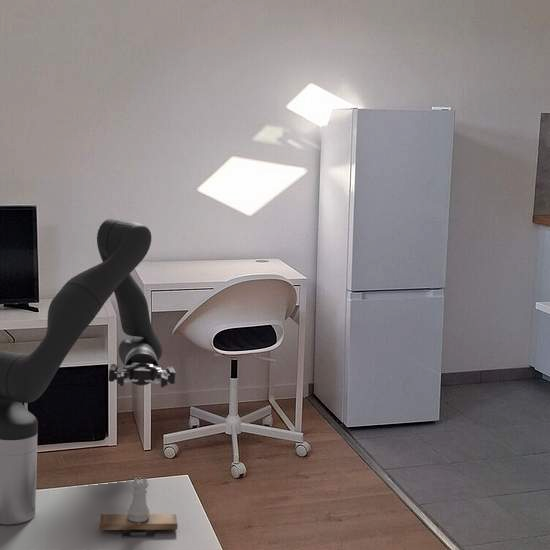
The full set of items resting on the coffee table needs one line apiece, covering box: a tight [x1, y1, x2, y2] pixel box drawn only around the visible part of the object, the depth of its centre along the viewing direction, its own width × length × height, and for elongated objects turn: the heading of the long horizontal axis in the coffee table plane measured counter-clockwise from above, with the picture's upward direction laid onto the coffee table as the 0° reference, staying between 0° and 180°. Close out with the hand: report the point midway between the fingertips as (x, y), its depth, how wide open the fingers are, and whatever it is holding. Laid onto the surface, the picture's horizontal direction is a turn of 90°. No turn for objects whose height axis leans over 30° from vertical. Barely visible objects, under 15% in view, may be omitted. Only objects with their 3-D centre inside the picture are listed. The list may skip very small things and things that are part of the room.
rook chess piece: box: [127, 476, 151, 523], centre depth 165 cm, size 4×4×8 cm
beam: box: [98, 513, 178, 531], centre depth 166 cm, size 15×4×1 cm, turn 100°
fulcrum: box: [122, 530, 155, 538], centre depth 166 cm, size 6×7×1 cm
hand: (142, 382), depth 177 cm, fingers open, 8 cm apart
